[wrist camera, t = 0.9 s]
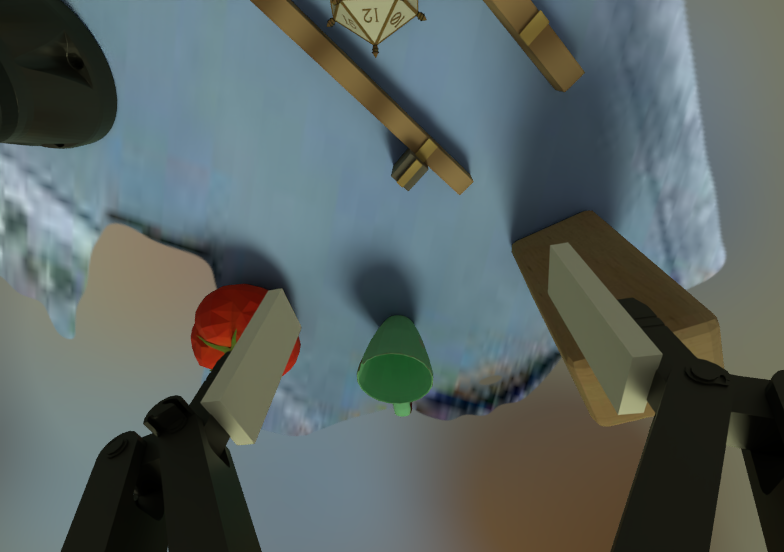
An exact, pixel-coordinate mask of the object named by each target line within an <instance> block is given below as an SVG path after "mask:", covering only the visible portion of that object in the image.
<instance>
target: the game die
mask: <svg viewBox="0 0 784 552" xmlns="http://www.w3.org/2000/svg"><path fill="white" fill-rule="evenodd" d="M330 3H331V9H332V14H333V18H330V20H328V21H327V22H328V23H327V27H333V25H335V24H334V23H335V22H338V23H339V24H341V25H343V26H344V27H346V28H347V29H349V30H350V31H352V32H353V33H355V34H357V35H358V36H360V37H361V38H363V39H364V40H366V41H367V42H369V43H371V44H372V45H373V49H372V50H373V52H372V53H373V54H374V56H375V58H376V57H377V54H378V53H379V52H378V49H379V48H378V47H377V45H378V44H379V43H381V42H382V41H383V40H385V39H386V38H387V37H389V36H390V35H391V34H393V33H394V32H395V31H397V30H398V29H399V28H401V27H402V26H403V25H405V24H406V23H407V22H409V21H410V20H411V19H413V18H414V17H415V16H417V17H418V20H419V19H420V20H421V21H425V20H426V17H425V15H424V14H423V13H422V12H419V11H418V0H330Z"/></svg>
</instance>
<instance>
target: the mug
mask: <svg viewBox="0 0 784 552" xmlns="http://www.w3.org/2000/svg"><path fill="white" fill-rule="evenodd" d="M357 381H358V384H359V385H360V387H361V389H362V390H363V391H364V392H365V393H366V394H368V395H369V396H370V397H372V398H374V399H376V400H378V401H382V402H386V403H393V406H394V410H395V414H396V415H398V416H408V415H409V414H410V413H411V411H412V402H413V401H416V400H418V399H421V398H422V397H423V396H425V395H426V394H427V393H428V392H429V391H430V389H431V387H432V385H433V371H432V368H431V364H430V360H429V357H428V354H427V352H426V349H425V346H424V343H423V341H422V339H421V336H420V334H419V332H418V330H417V329H416V327H415V325H414V324H413V322H412V321H411V320H410V319H409V318H407V317H405V316H401V315H395V316H391V317H389V318H387V319H386V320H385V321H384V323H383V324H382V325H381V326H380V328H379V329H378V330H377V331H376V333H375V335H374V336H373V338H372V339H371V341H370V343H369V345H368V347H367V349H366V351H365V353H364V356H363V358H362V360H361V362H360V365H359V367H358V371H357Z"/></svg>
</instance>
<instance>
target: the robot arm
mask: <svg viewBox="0 0 784 552" xmlns="http://www.w3.org/2000/svg"><path fill="white" fill-rule="evenodd" d="M116 112H117V95H116V89H115V84H114V80H113V77H112V74H111V71H110V68H109V66H108V63H107V61H106V59H105V57H104V55H103V53H102V51H101V49H100V48H99V46H98V44H97V43H96V41H95V40H94V38H93V36H92V35H91V34H90V32H89V31H88V29H87V28H86V27H85V26H84V24H83V23H82V22H81V21H80V20H79V18H78V17H77V16H76V15H75V14H74V13H73V12H72V11H71V10H70V9H69V8H68V7H67V6H66V5H65V4H64V3H63V2H62V1H61V0H0V143H7V144H17V145H28V146H43V147H48V148H58V149H65V148H74V147H79V146H83V145H87V144H91V143H94V142H96V141H98V140H100V139H102V138H103V137H104V136H105V135H106V134H107V133H108V132H109V131H110V129H111V128H112V126H113V123H114V121H115V117H116ZM548 295H549V296H550V298H551V300H552V301H553V303H554V305H555V307H556V308H557V310H558V312H559V314H560V315H561V317H562V319H563V321H564V322H565V324H566V326H567V327H568V329H569V331H570V333H571V334H572V336H573V338H574V340H575V341H576V343H577V345H578V346H579V348H580V350H581V352H582V353H583V355H584V357H585V359H586V360H587V362H588V364H589V366H590V367H591V369H592V371H593V372H594V374H595V376H596V378H597V379H598V381H599V383H600V385H601V386H602V388H603V390H604V391H605V393H606V395H607V397H608V398H609V400H610V402H611V404H612V405H613V407H614V409H615V411H616V412H617V414H618V415H623V414H635V413H644V410H645V407H646V404H647V402H648V403H649V405H650V406H651V408H652V409H653V410H654V412H655V416H654V418H653V421H652V424H651V427H650V430H649V434H648V437H647V440H646V443H645V446H644V449H643V452H642V456H641V459H640V462H639V465H638V468H637V471H636V474H635V478H634V480H633V484H632V487H631V490H630V493H629V496H628V499H627V502H626V505H625V508H624V512H623V514H622V518H621V521H620V524H619V527H618V530H617V533H616V536H615V539H614V542H613V545H612V549H611V552H709V549H710V542H711V536H712V530H713V523H714V517H715V511H716V505H717V498H718V492H719V486H720V480H721V473H722V467H723V461H724V454H725V448H726V446H732V447H737V448H741V450H742V454H743V458H744V461H745V465H746V469H747V473H748V477H749V481H750V484H751V489H752V492H753V496H754V500H755V504H756V508H757V512H758V516H759V519H760V523H761V527H762V531H763V535H764V538H765V543H766V547H767V551H768V552H784V370H780V371H778V372H777V373H775V374H774V375H773V377H772V378H771V380H766V379H758V378H750V377H743V376H736V375H731V374H729V373H728V371H726V370H725V369H723V368H722V367H720V366H719V365H717V364H715V363H712V362H710V361H707V360H704V359H699V358H697V357H696V356H695V355H694V354H693V353H692V352H691V351H690V350H689V349H688V348H687V347H686V346H685V345H684V344H683V343H682V342H681V340H680V339H679V338H678V337H677V336H676V335H675V334H674V333H673V332H672V331H671V330H670V329H669V328H668V327H667V326H665V324H664V323H663V322H662V320H661V319H660V318H657V315H656V314H655V313H654V312H653V311H652V310H651V309H650V308H649V307H648V306H647V305H646V304H644V303H642V302H640V301H638V300H636V299H635V298H633V297H632V298H625V299H617V300H616V298H615V297H614V296H613V295H612V294H611V292H610V291H609V290H608V289H607V288H606V287H605V285H604V284H603V283H602V282H601V281H600V279H599V278H598V277H597V276H596V275H595V274H594V272H593V271H592V270H591V269H590V268H589V266H588V265H587V264H586V263H585V262H584V261H583V259H582V258H581V257H580V256H579V255H578V253H577V252H576V251H575V250H574V249H573V248H572V246H571V245H570V244H569V243H568V242H567V243H561V244H555V245H550V258H549V279H548ZM301 328H302V327H301V325H300V323H299V321H298V319H297V317H296V315H295V313H294V311H293V309H292V307H291V305H290V303H289V301H288V299H287V297H286V295H285V293H284V291H283V289H282V288H281V289H275V290H269V291H268V292H267V294H266V296H265V297H264V299H263V300H262V302H261V304H260V305H259V307H258V309H257V310H256V312H255V314H254V315H253V317H252V318H251V320H250V322H249V323H248V325H247V327H246V328H245V330H244V332H243V333H242V335H241V337H240V338H239V340H238V341H237V343H236V345H235V346H234V348H233V350H232V351H227V352H226V353H225V354H224V355H223V356H222V357H221V358H220V359H219V360H218V361H217V362H216V364H215V366H214V367H213V369H212V370H211V373H209V375H208V377H207V378H206V381H204V383H203V384H202V386H201V388H200V389H199V391H198V393H197V394H196V396H195V397H194V399H193V400H192V402H191V403H190V405H188V404H187V403H186V401H185V400H184V399H183V398H182V397H181V396H177V395H175V396H170V397H168V398H166V399H164V400H162V401H160V402H159V403H158V404H156V405H155V406H154V407H153V408H152V409H151V410H150V411H149V412H148V414H147V415H146V417H145V419H144V423H143V424H144V425H145V426H146V427H147V428H148V429H149V430H150V431H151V432H152V434H150V435H147V436H144V437H140V436H139V435H138V434H137V433H136V432H135V431H128V432H125V433H122V434H120V435H119V436H117V437H115V438H114V439H113V440H112V441H110V442H109V443H108V444H107V445H106V446H105V447H104V448H103V450H102V451H101V452H100V454H99V455H98V457H97V459H96V462H95V465H94V467H93V470H92V472H91V475H90V478H89V480H88V483H87V485H86V488H85V491H84V493H83V495H82V498H81V501H80V503H79V506H78V508H77V511H76V514H75V516H74V519H73V521H72V524H71V527H70V529H69V532H68V534H67V537H66V540H65V542H64V545H63V547H62V550H61V552H167V548H168V550H169V552H262V551H261V548H260V545H259V542H258V538H257V535H256V532H255V529H254V526H253V523H252V520H251V516H250V513H249V510H248V507H247V504H246V501H245V498H244V494H243V491H242V488H241V485H240V482H239V479H238V476H237V472H236V469H235V466H234V463H233V460H232V457H231V454H230V451H229V449H228V448H227V447H226V444H227V442H228V440H229V438H231V439H232V440H233V441H234V442H235V443H236V444H237V445H246V444H255V442H256V439H257V437H258V434H259V432H260V429H261V427H262V424H263V422H264V419H265V417H266V415H267V412H268V410H269V407H270V405H271V402H272V400H273V397H274V395H275V392H276V390H277V387H278V385H279V382H280V380H281V377H282V375H283V372H284V370H285V367H286V365H287V363H288V360H289V358H290V355H291V353H292V350H293V348H294V345H295V343H296V340H297V338H298V335H299V333H300V330H301Z"/></svg>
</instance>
